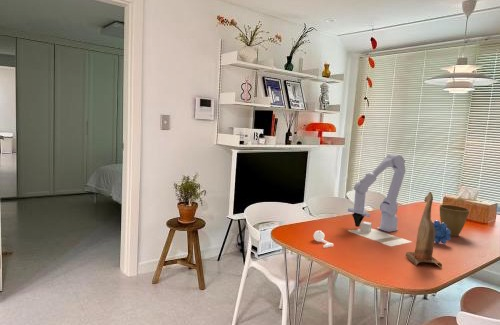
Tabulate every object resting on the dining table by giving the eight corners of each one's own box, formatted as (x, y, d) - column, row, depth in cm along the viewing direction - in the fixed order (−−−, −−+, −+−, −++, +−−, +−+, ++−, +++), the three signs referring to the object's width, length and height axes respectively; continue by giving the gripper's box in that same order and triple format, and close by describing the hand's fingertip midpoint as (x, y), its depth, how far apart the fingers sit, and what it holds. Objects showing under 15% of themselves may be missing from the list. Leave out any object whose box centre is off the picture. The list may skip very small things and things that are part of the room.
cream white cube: (368, 233, 195) (369, 224, 195) (359, 231, 198) (360, 222, 197) (371, 231, 200) (371, 222, 199) (362, 229, 202) (363, 221, 202)
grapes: (424, 242, 185) (426, 220, 183) (425, 239, 190) (428, 217, 189) (449, 247, 178) (452, 224, 177) (450, 244, 184) (452, 222, 183)
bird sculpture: (428, 258, 161) (435, 189, 158) (442, 268, 150) (451, 194, 147) (404, 257, 161) (411, 188, 158) (417, 267, 149) (425, 193, 146)
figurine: (319, 228, 180) (337, 236, 171) (318, 238, 181) (335, 247, 171) (308, 230, 176) (325, 238, 166) (306, 240, 177) (324, 249, 167)
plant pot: (433, 233, 202) (436, 206, 201) (440, 229, 213) (443, 203, 212) (462, 240, 192) (466, 212, 191) (468, 235, 203) (472, 208, 202)
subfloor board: (368, 228, 208) (368, 227, 208) (412, 242, 184) (412, 241, 184) (347, 231, 198) (347, 230, 198) (390, 247, 175) (390, 246, 175)
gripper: (345, 201, 206) (343, 223, 208) (364, 206, 194) (362, 230, 195) (353, 200, 210) (351, 222, 211) (373, 205, 198) (371, 229, 199)
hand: (357, 226), depth 204 cm, fingers closed
